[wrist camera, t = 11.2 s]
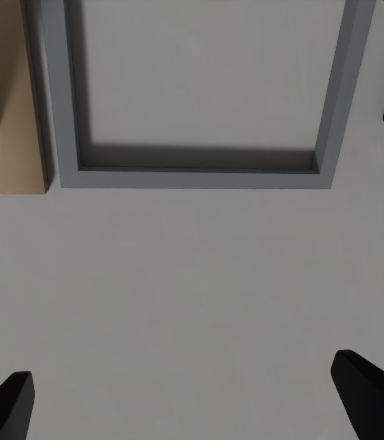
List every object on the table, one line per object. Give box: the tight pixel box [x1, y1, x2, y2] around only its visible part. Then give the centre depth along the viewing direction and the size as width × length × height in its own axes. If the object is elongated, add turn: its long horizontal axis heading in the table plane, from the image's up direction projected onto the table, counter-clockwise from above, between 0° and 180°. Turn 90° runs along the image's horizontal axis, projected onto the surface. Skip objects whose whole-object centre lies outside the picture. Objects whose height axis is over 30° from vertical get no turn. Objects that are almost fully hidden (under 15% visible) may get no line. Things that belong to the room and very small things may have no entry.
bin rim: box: [40, 0, 376, 189], centre depth 17 cm, size 17×13×1 cm
